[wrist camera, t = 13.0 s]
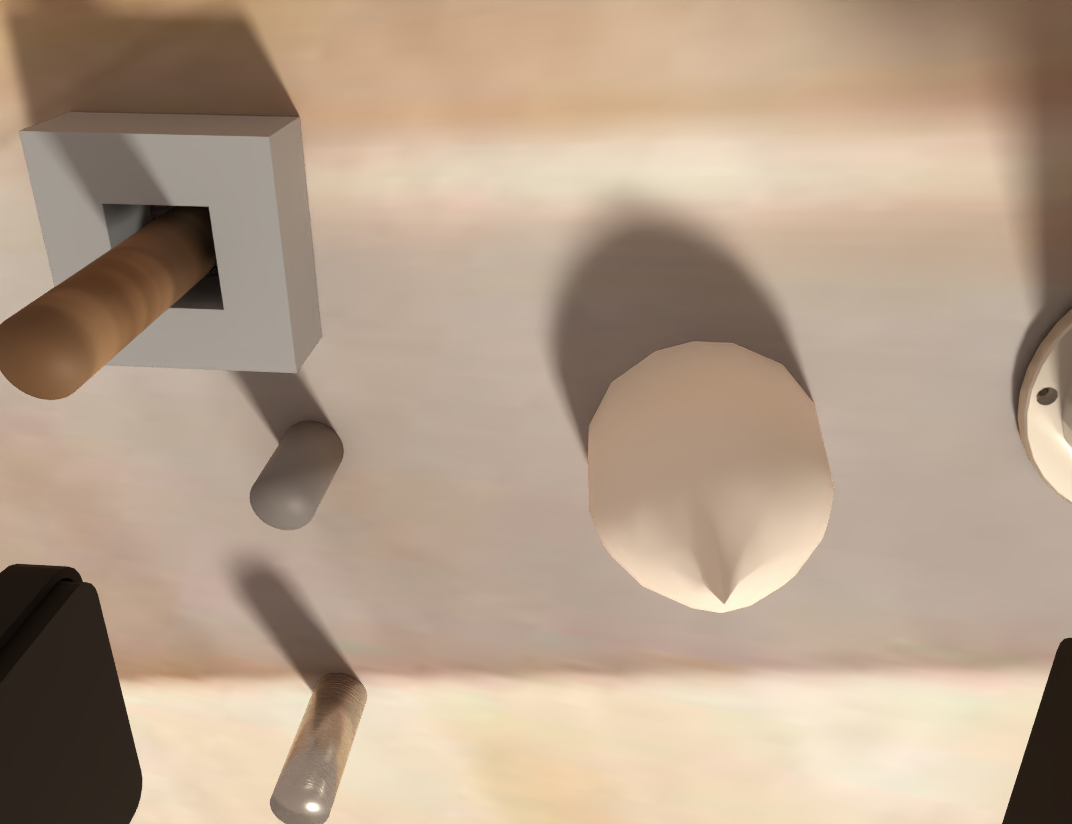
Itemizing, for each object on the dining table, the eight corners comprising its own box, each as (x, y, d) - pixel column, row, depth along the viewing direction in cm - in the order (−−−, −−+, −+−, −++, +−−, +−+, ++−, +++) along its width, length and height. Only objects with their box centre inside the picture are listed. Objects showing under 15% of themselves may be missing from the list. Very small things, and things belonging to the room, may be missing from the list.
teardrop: (688, 293, 44) (708, 417, 33) (872, 431, 46) (945, 589, 36) (541, 461, 48) (516, 619, 38) (714, 579, 51) (737, 759, 40)
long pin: (231, 197, 43) (73, 315, 31) (240, 263, 45) (93, 401, 32) (165, 195, 44) (-18, 312, 31) (176, 261, 45) (5, 398, 33)
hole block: (299, 116, 42) (268, 137, 38) (321, 336, 46) (296, 372, 43) (69, 111, 42) (18, 131, 39) (114, 329, 47) (72, 363, 43)
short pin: (340, 422, 48) (311, 475, 44) (345, 475, 50) (318, 531, 45) (280, 419, 48) (245, 472, 44) (287, 472, 50) (254, 528, 45)
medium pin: (365, 674, 56) (326, 787, 48) (368, 714, 57) (332, 830, 50) (312, 671, 56) (266, 783, 49) (317, 711, 57) (273, 826, 50)
